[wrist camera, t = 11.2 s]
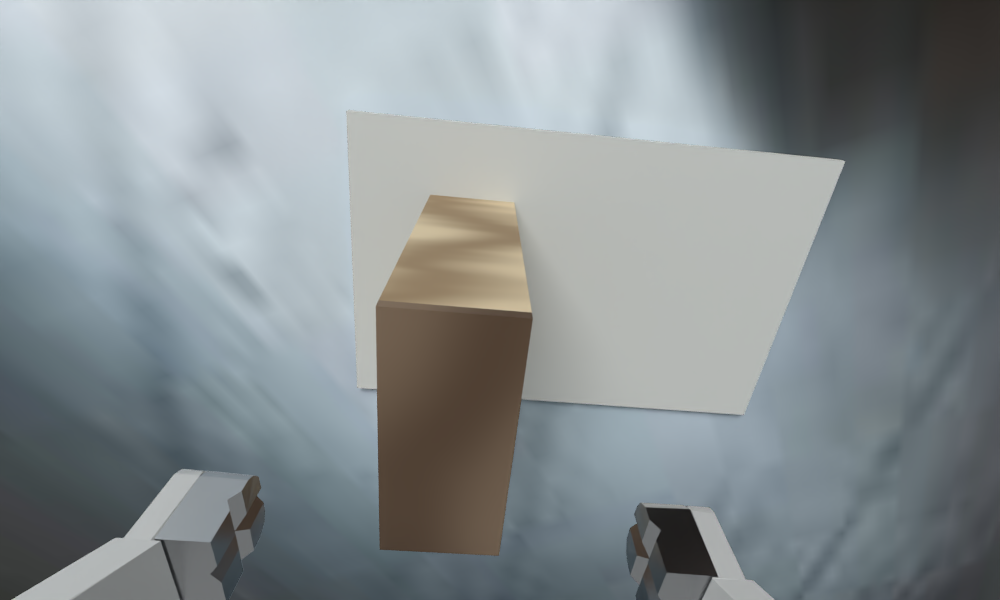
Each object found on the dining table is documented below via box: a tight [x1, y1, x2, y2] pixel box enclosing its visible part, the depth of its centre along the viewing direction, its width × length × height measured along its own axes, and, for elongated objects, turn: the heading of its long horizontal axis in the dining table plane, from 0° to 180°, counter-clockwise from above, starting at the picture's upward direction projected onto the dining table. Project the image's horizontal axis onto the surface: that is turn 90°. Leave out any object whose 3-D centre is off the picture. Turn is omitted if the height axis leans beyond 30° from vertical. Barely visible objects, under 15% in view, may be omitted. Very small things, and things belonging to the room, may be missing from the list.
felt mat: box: [346, 110, 845, 415], centre depth 22 cm, size 20×13×1 cm, turn 84°
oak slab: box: [376, 195, 533, 556], centre depth 17 cm, size 4×8×10 cm, turn 174°
